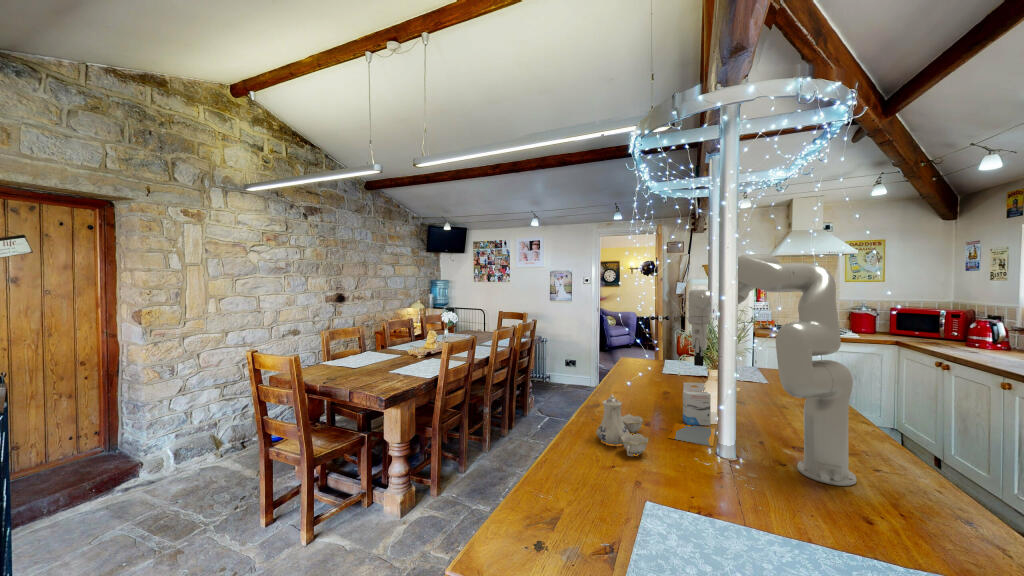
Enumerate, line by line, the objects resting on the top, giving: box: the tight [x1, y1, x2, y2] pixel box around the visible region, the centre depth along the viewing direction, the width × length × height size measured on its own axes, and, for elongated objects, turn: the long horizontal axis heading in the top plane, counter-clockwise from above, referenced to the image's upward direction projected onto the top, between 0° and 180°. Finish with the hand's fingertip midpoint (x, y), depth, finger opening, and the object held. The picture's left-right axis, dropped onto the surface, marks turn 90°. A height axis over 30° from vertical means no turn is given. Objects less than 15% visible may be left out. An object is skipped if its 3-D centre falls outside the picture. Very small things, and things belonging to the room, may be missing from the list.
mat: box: [675, 425, 717, 447], centre depth 135 cm, size 16×14×1 cm
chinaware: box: [595, 393, 650, 457], centre depth 130 cm, size 28×17×17 cm, turn 171°
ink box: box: [682, 382, 712, 426], centre depth 145 cm, size 9×5×15 cm, turn 84°
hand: (698, 365), depth 155 cm, fingers closed
